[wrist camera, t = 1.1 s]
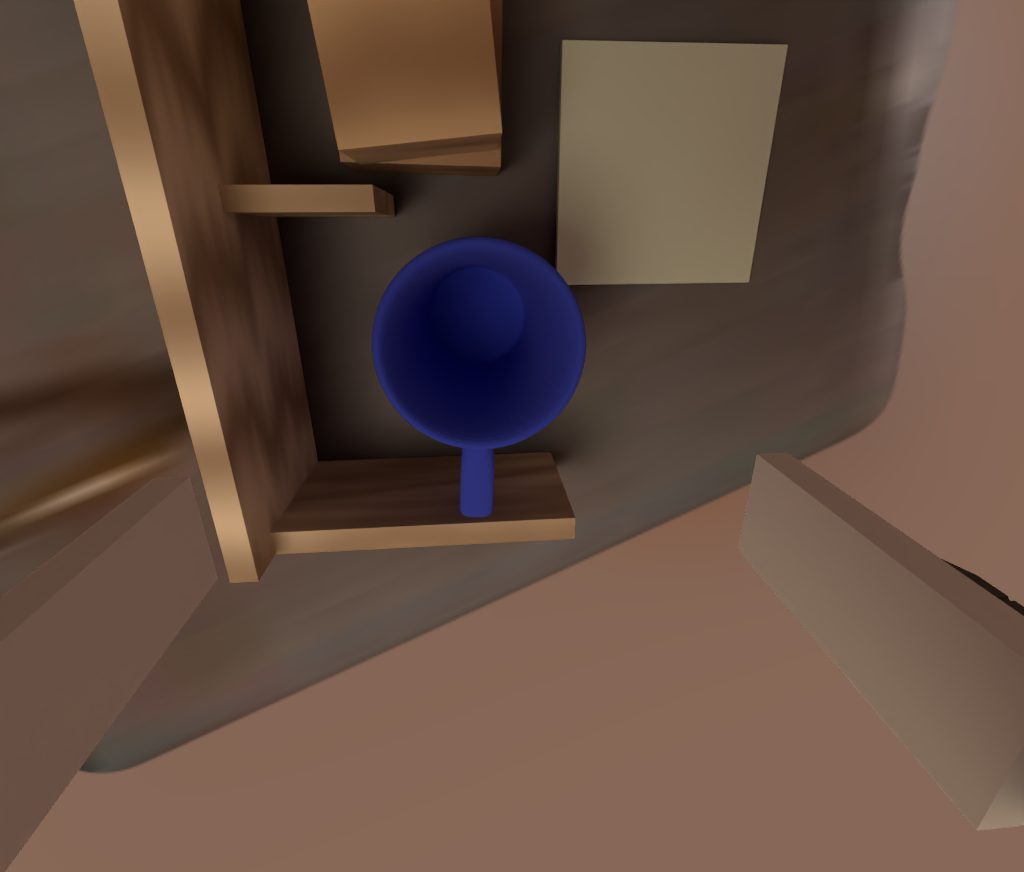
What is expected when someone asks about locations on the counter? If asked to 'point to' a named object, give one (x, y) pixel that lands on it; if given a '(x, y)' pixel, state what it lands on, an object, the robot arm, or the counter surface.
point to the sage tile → (662, 159)
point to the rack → (261, 306)
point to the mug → (478, 351)
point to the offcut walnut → (457, 163)
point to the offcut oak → (408, 77)
